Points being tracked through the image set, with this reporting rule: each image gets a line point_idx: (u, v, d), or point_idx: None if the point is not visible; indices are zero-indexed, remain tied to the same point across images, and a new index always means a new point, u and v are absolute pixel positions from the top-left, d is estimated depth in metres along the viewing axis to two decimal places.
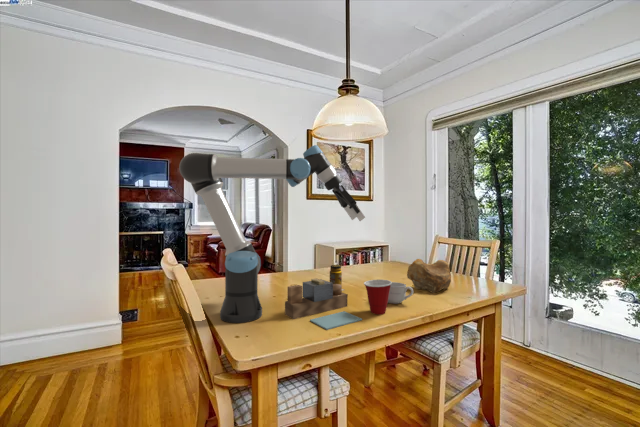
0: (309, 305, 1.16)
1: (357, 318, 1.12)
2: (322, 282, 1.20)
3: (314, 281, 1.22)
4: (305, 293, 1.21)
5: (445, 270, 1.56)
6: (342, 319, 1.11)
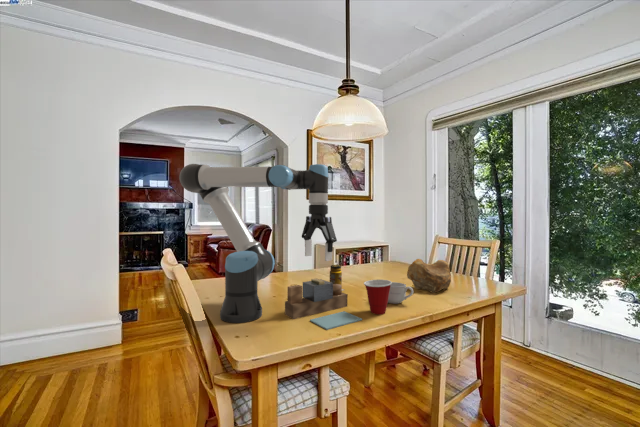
0: (309, 305, 1.16)
1: (357, 318, 1.12)
2: (322, 282, 1.20)
3: (314, 281, 1.22)
4: (305, 293, 1.21)
5: (445, 270, 1.56)
6: (342, 319, 1.11)
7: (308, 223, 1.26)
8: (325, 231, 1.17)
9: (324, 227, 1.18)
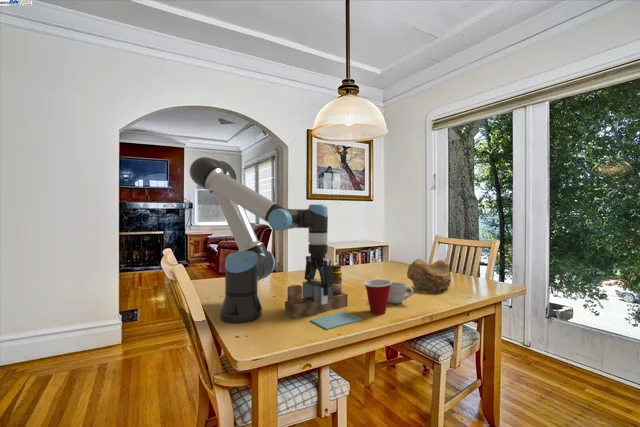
0: (309, 305, 1.16)
1: (357, 318, 1.12)
2: None
3: (314, 281, 1.22)
4: (305, 293, 1.21)
5: (445, 270, 1.56)
6: (342, 319, 1.11)
7: (309, 263, 1.26)
8: (323, 274, 1.18)
9: (322, 269, 1.19)
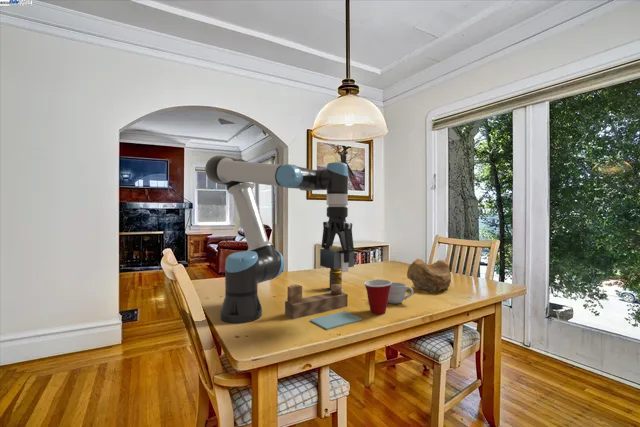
0: (309, 305, 1.16)
1: (357, 318, 1.12)
2: None
3: (333, 248, 1.10)
4: (323, 261, 1.10)
5: (445, 270, 1.56)
6: (342, 319, 1.11)
7: (326, 229, 1.15)
8: (343, 239, 1.07)
9: (342, 233, 1.08)
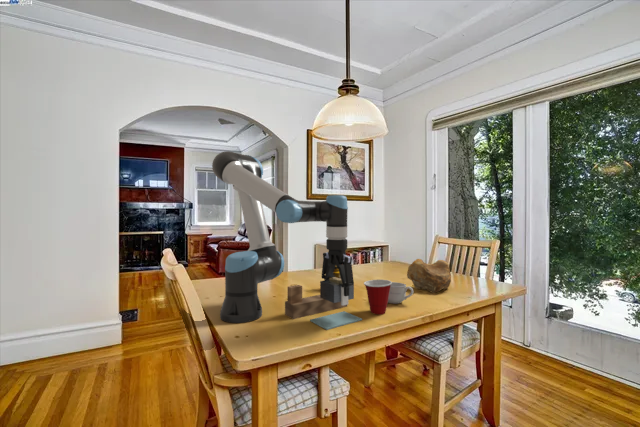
0: (309, 305, 1.16)
1: (357, 318, 1.12)
2: None
3: (333, 280, 1.11)
4: (323, 293, 1.10)
5: (445, 270, 1.56)
6: (342, 319, 1.11)
7: (326, 260, 1.15)
8: (343, 272, 1.07)
9: (342, 266, 1.08)
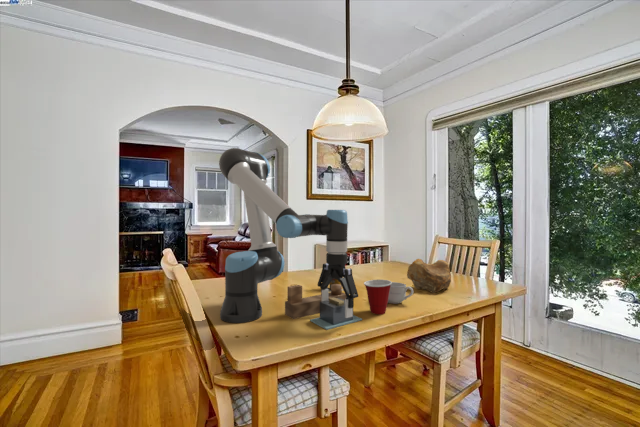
0: (309, 305, 1.16)
1: (357, 318, 1.12)
2: (341, 302, 1.09)
3: (332, 301, 1.11)
4: (322, 314, 1.10)
5: (445, 270, 1.56)
6: None
7: (325, 271, 1.15)
8: (345, 284, 1.06)
9: (344, 279, 1.07)
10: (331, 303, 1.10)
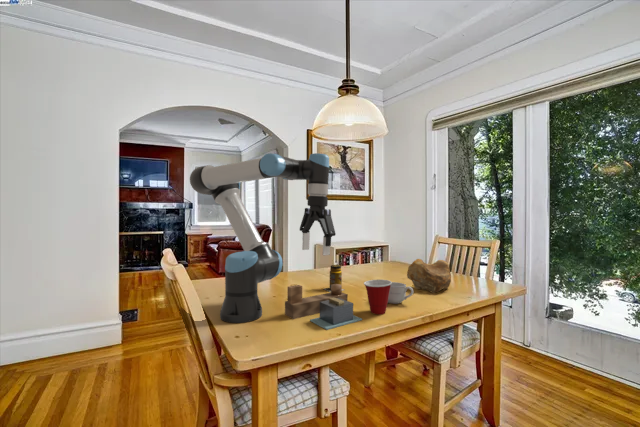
0: (309, 305, 1.16)
1: (357, 318, 1.12)
2: (341, 302, 1.09)
3: (332, 301, 1.11)
4: (322, 314, 1.10)
5: (445, 270, 1.56)
6: None
7: (307, 215, 1.20)
8: (324, 224, 1.11)
9: (323, 220, 1.12)
10: (331, 303, 1.10)
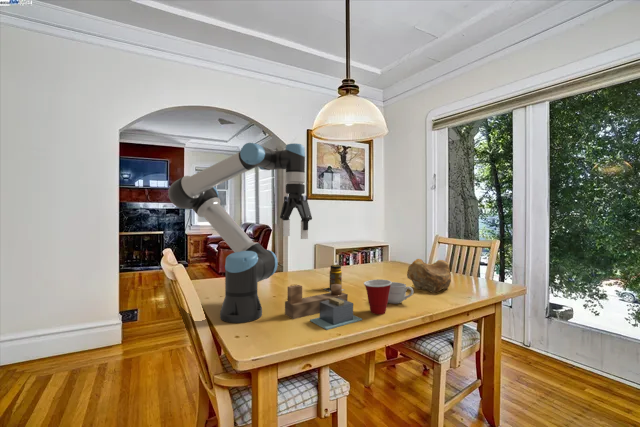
0: (309, 305, 1.16)
1: (357, 318, 1.12)
2: (341, 302, 1.09)
3: (332, 301, 1.11)
4: (322, 314, 1.10)
5: (445, 270, 1.56)
6: None
7: (286, 203, 1.27)
8: (301, 210, 1.18)
9: (300, 206, 1.19)
10: (331, 303, 1.10)
